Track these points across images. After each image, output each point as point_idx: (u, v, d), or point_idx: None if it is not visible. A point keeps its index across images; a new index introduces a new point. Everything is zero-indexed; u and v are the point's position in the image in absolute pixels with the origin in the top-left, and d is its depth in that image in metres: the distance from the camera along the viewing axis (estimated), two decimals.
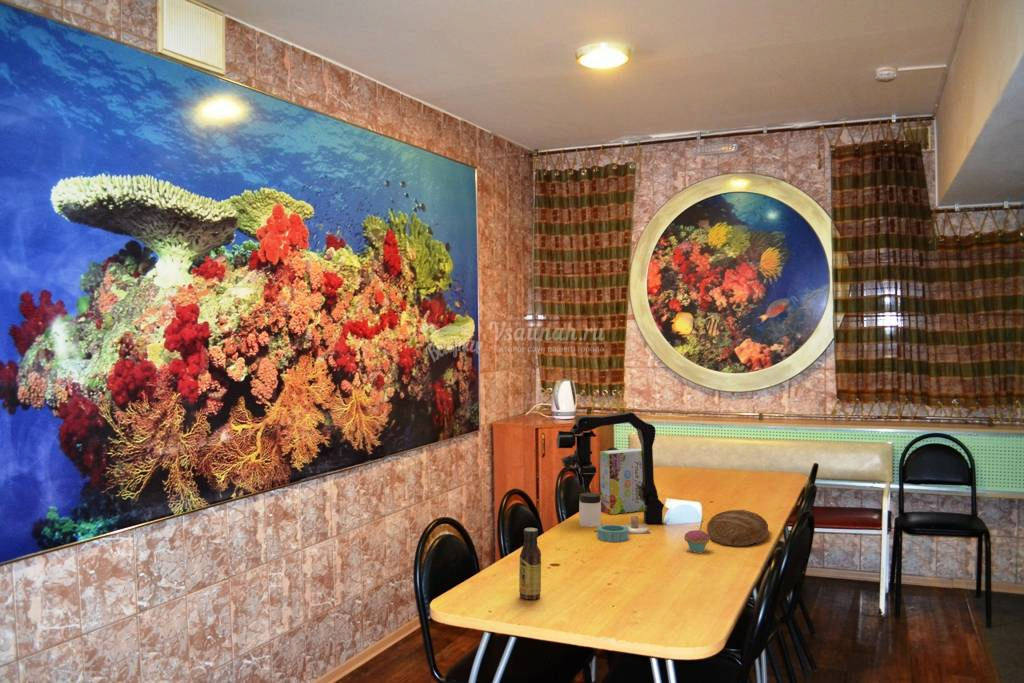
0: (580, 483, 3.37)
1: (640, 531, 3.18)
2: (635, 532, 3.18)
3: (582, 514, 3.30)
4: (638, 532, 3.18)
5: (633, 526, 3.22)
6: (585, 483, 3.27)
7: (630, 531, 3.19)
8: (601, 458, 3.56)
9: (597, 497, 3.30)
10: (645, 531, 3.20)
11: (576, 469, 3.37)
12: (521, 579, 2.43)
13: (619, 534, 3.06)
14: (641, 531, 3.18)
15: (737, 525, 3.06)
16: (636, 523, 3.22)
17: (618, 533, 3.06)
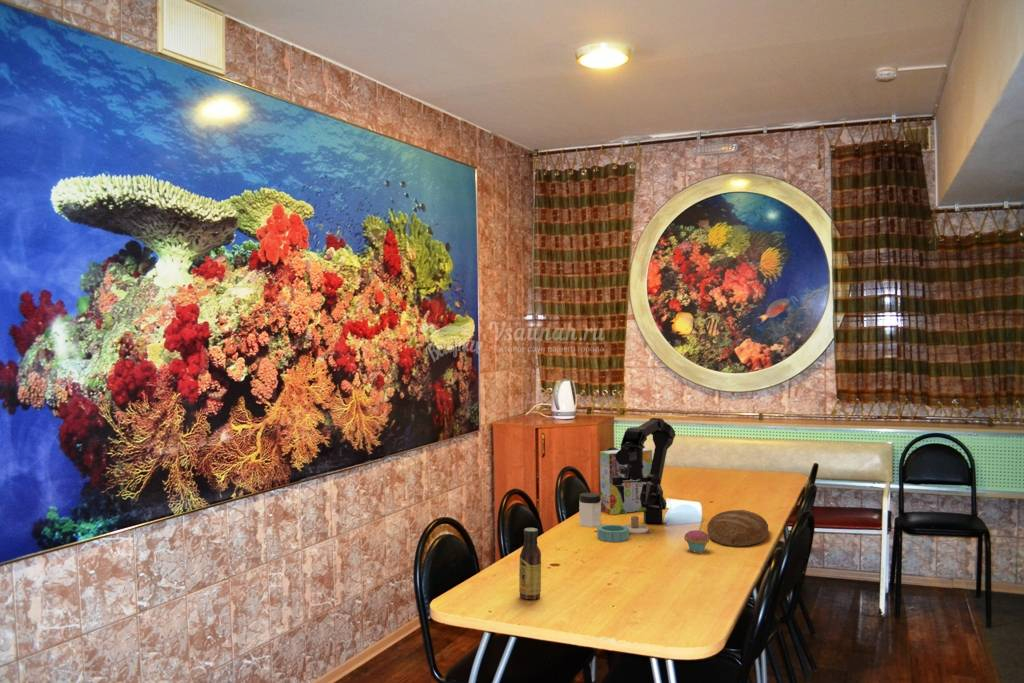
0: (646, 499, 3.24)
1: (640, 531, 3.18)
2: (635, 532, 3.18)
3: (582, 514, 3.30)
4: (638, 532, 3.18)
5: (633, 526, 3.22)
6: (620, 494, 3.23)
7: (630, 531, 3.19)
8: (601, 458, 3.56)
9: (597, 497, 3.30)
10: (645, 531, 3.20)
11: (646, 484, 3.25)
12: (521, 579, 2.43)
13: (619, 534, 3.06)
14: (641, 531, 3.18)
15: (737, 525, 3.06)
16: (636, 523, 3.22)
17: (618, 533, 3.06)
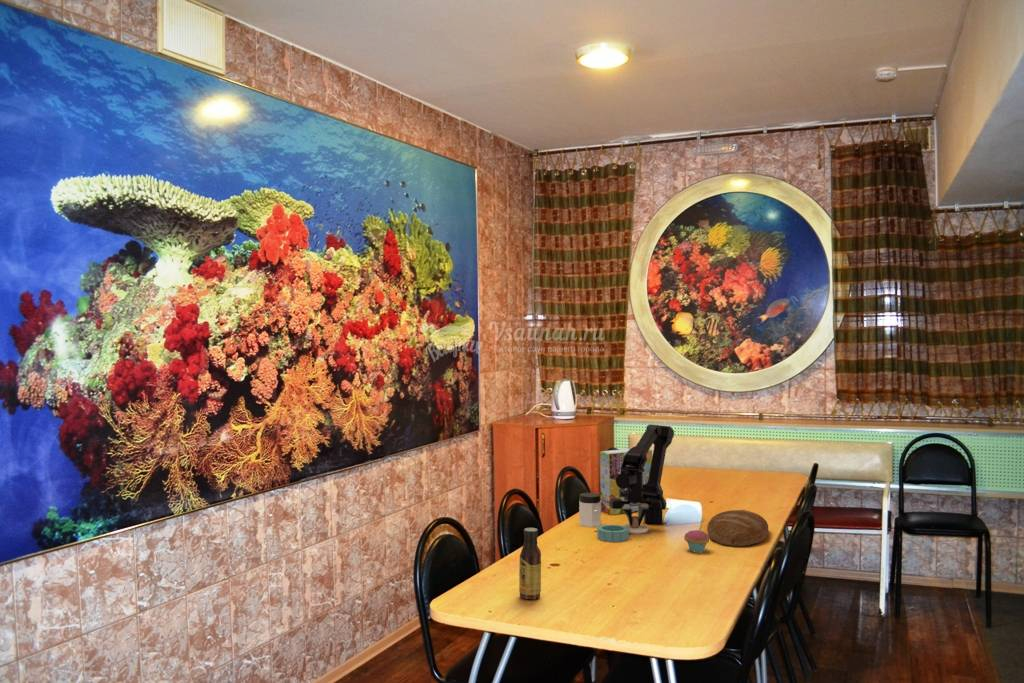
0: None
1: (640, 531, 3.18)
2: (635, 532, 3.18)
3: (582, 514, 3.30)
4: (638, 532, 3.18)
5: (633, 526, 3.22)
6: None
7: (630, 531, 3.19)
8: (601, 458, 3.56)
9: (597, 497, 3.30)
10: (645, 531, 3.20)
11: (638, 507, 3.25)
12: (521, 579, 2.43)
13: (619, 534, 3.06)
14: (641, 531, 3.18)
15: (737, 525, 3.06)
16: (636, 523, 3.22)
17: (618, 533, 3.06)
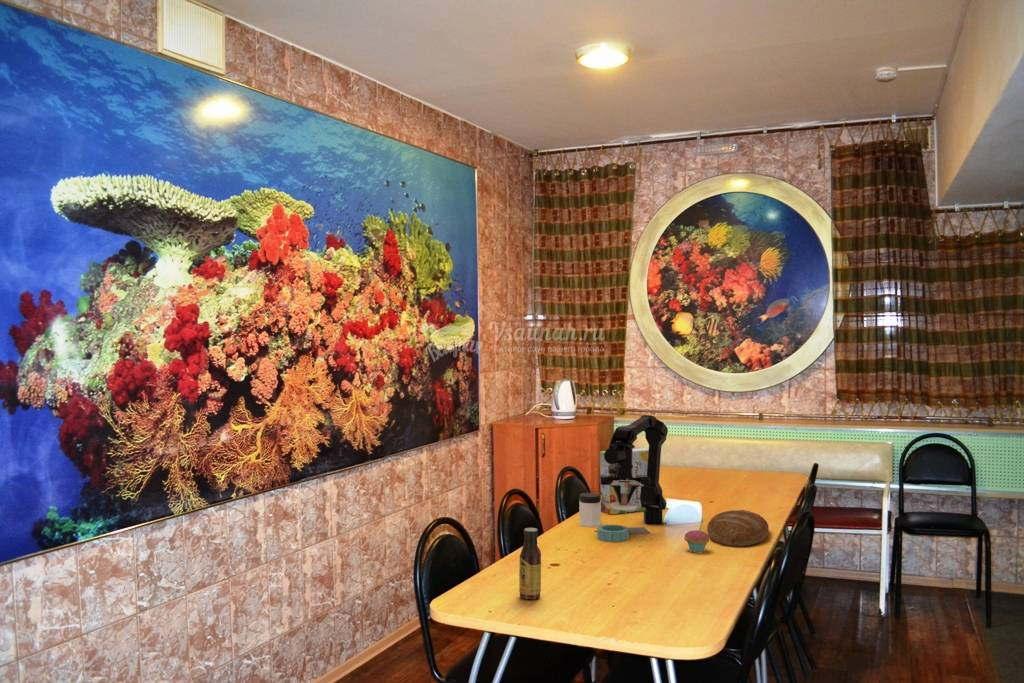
0: None
1: (629, 508, 3.12)
2: (624, 509, 3.12)
3: (582, 514, 3.30)
4: (627, 509, 3.12)
5: (622, 503, 3.16)
6: (616, 495, 3.17)
7: (619, 508, 3.12)
8: (601, 458, 3.56)
9: (597, 497, 3.30)
10: (634, 508, 3.13)
11: (628, 485, 3.19)
12: (521, 579, 2.43)
13: (619, 534, 3.06)
14: (630, 508, 3.12)
15: (737, 525, 3.06)
16: (625, 500, 3.16)
17: (618, 533, 3.06)
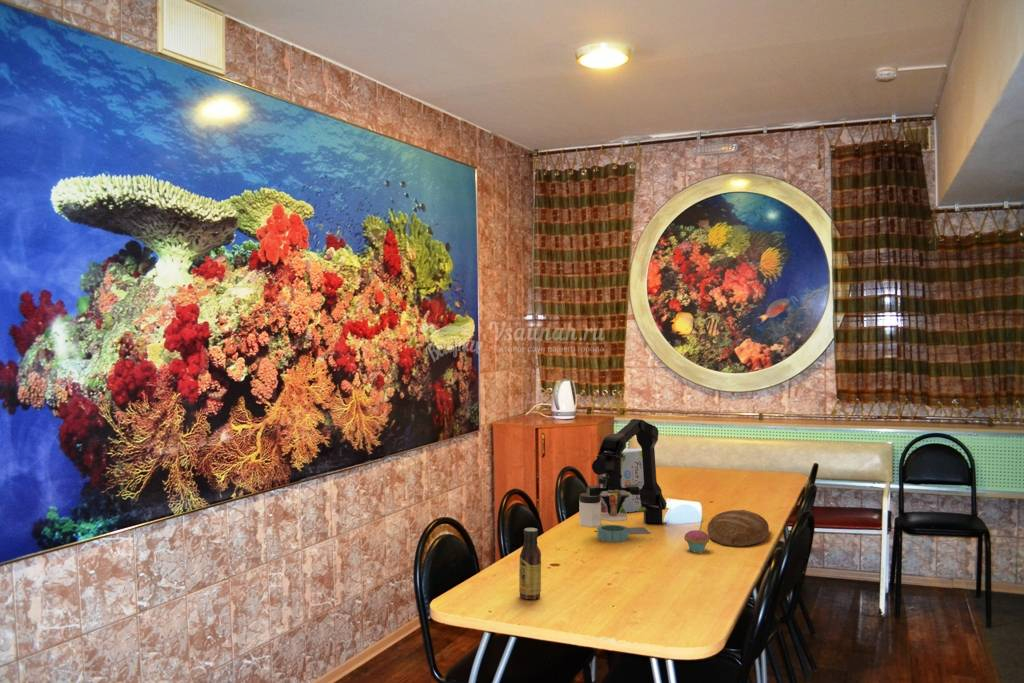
0: None
1: (618, 519, 3.07)
2: (613, 520, 3.07)
3: (582, 514, 3.30)
4: (616, 520, 3.07)
5: (611, 514, 3.10)
6: None
7: (608, 519, 3.07)
8: None
9: (597, 497, 3.30)
10: (624, 519, 3.08)
11: (617, 495, 3.13)
12: (521, 579, 2.43)
13: (619, 534, 3.06)
14: (619, 519, 3.07)
15: (737, 525, 3.06)
16: (614, 510, 3.10)
17: (618, 533, 3.06)
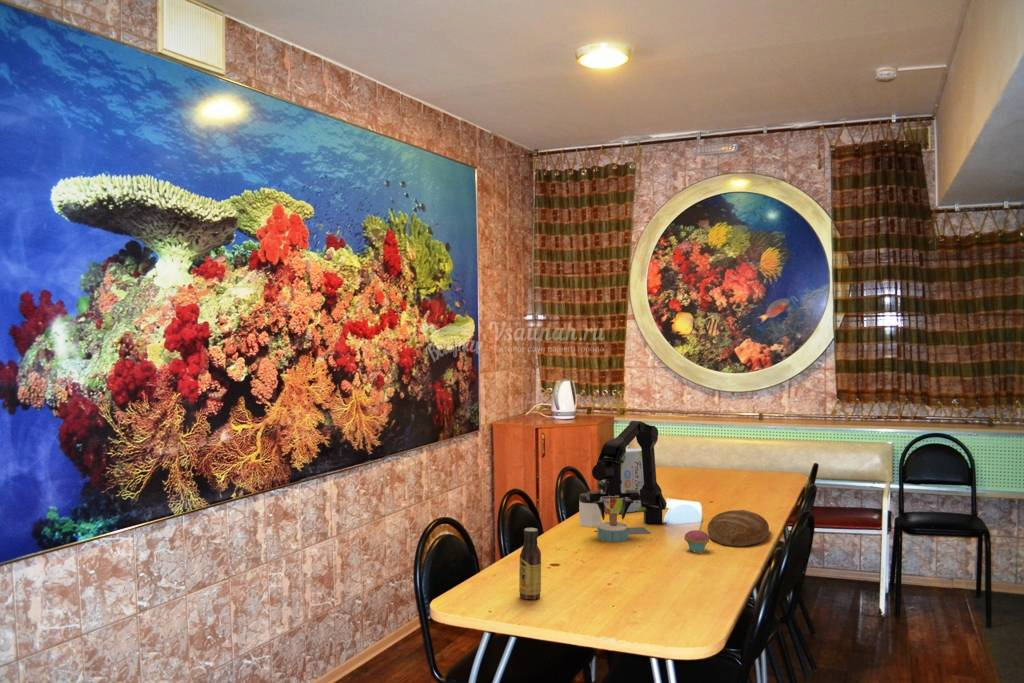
0: (622, 516, 3.12)
1: (618, 529, 3.07)
2: (613, 530, 3.07)
3: (582, 514, 3.30)
4: (616, 530, 3.07)
5: (611, 523, 3.10)
6: (600, 511, 3.11)
7: (608, 529, 3.07)
8: None
9: None
10: (623, 529, 3.08)
11: (622, 500, 3.14)
12: (521, 579, 2.43)
13: (619, 534, 3.06)
14: (619, 529, 3.07)
15: (737, 525, 3.06)
16: (614, 520, 3.10)
17: (618, 533, 3.06)
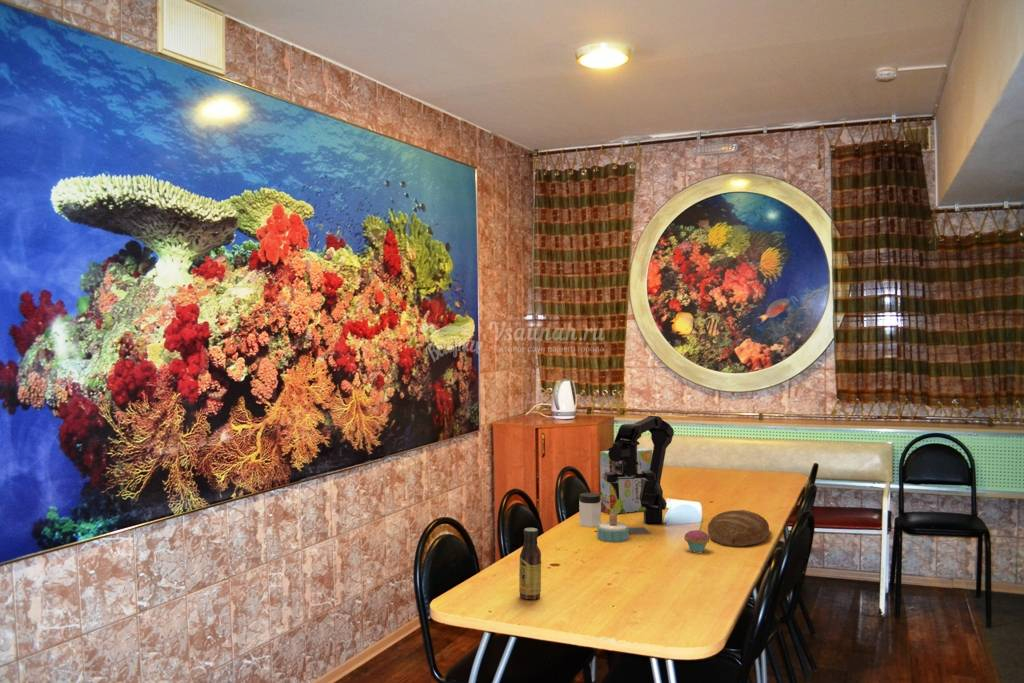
0: (641, 495, 3.23)
1: (618, 529, 3.07)
2: (613, 530, 3.07)
3: (582, 514, 3.30)
4: (616, 530, 3.07)
5: (611, 523, 3.10)
6: None
7: (608, 529, 3.07)
8: (601, 458, 3.56)
9: (597, 497, 3.30)
10: (623, 529, 3.08)
11: (641, 480, 3.24)
12: (521, 579, 2.43)
13: (619, 534, 3.06)
14: (619, 529, 3.07)
15: (737, 525, 3.06)
16: (614, 520, 3.10)
17: (618, 533, 3.06)
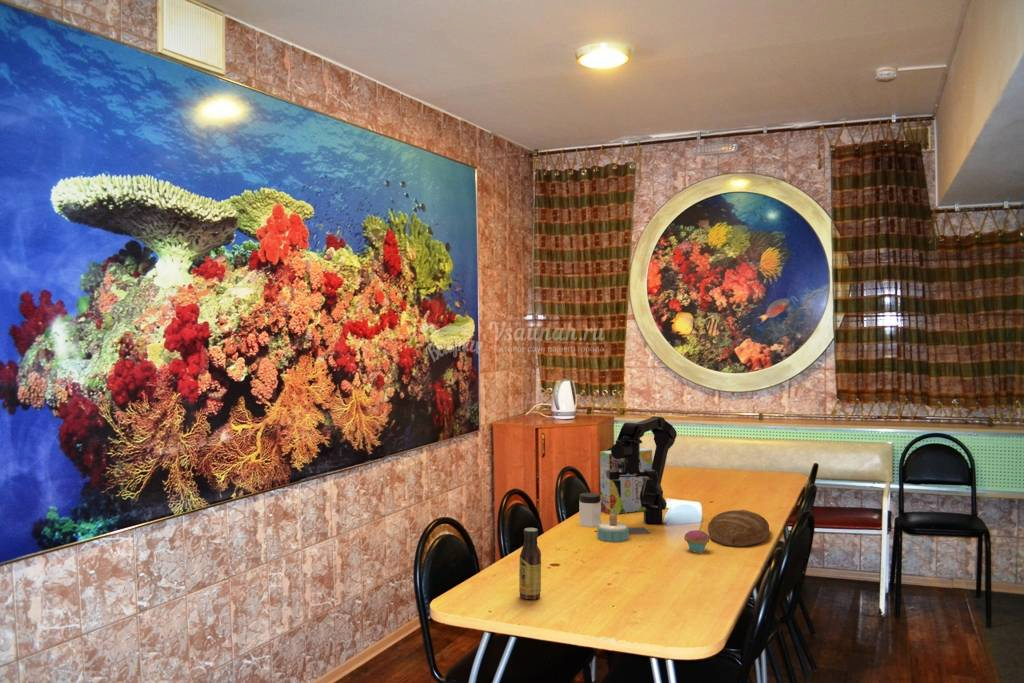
0: (642, 494, 3.24)
1: (618, 529, 3.07)
2: (613, 530, 3.07)
3: (582, 514, 3.30)
4: (616, 530, 3.07)
5: (611, 523, 3.10)
6: None
7: (608, 529, 3.07)
8: (601, 458, 3.56)
9: (597, 497, 3.30)
10: (623, 529, 3.08)
11: (643, 479, 3.26)
12: (521, 579, 2.43)
13: (619, 534, 3.06)
14: (619, 529, 3.07)
15: (737, 525, 3.06)
16: (614, 520, 3.10)
17: (618, 533, 3.06)
